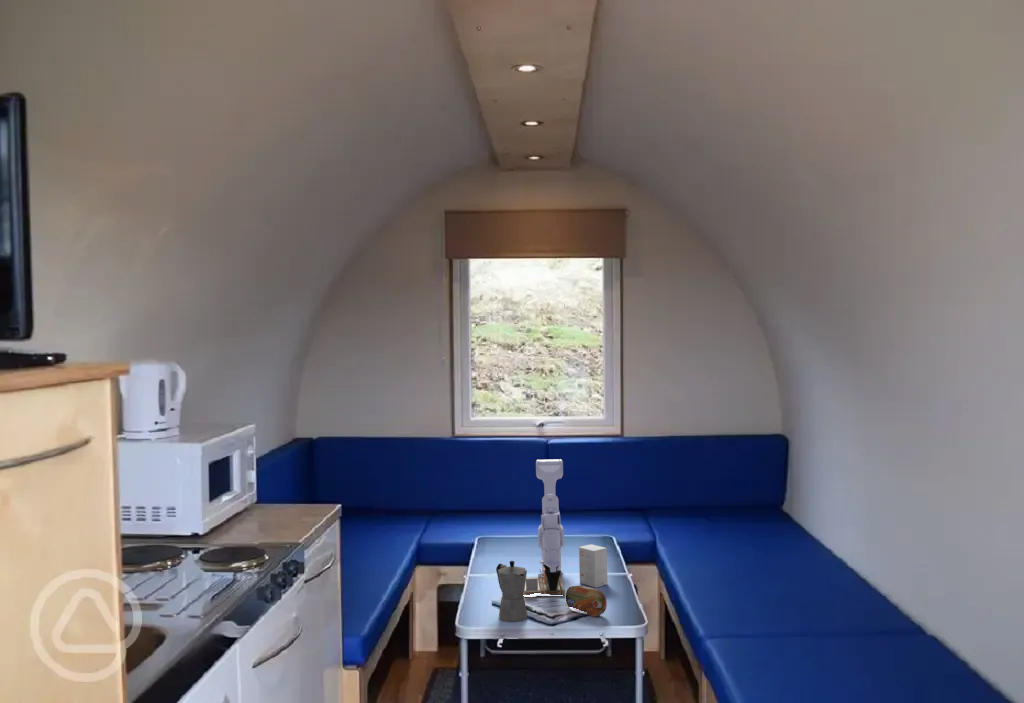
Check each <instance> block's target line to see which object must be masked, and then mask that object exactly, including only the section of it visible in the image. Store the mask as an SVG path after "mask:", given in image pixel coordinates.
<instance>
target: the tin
mask: <svg viewBox="0 0 1024 703" xmlns="http://www.w3.org/2000/svg"><path fill="white" fill-rule="evenodd" d="M564 597H565V602H566V605H567V607H568V608H569V607H573V608H576V609H579V610H581V611H584V612H587V614H588V615H589V616H588V615H587V616H588V617H593V618H596V617H598V616H600V615H603V614H604V613H605V612H606V610H607V605H608V604H607V602H608V601H607V597H606V596H605V594H604V593H603V591H601V590H600V589H599V588H595V587H590V586H583V585H573V586H570V587H569V588H567V590H566V591H565V596H564Z"/></svg>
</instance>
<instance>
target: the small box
mask: <svg viewBox="0 0 1024 703" xmlns="http://www.w3.org/2000/svg"><path fill="white" fill-rule="evenodd" d="M578 557H579V558H578V559H579V560H578V561H579V562H578V563H579V566H578V567H579V568H578V569H579V584H582V585H586V586H587V587H591V588H594V589H597V588H600V587H602V586H605V585H608V549H607V548H606V547H604V546H600V545H595V544H592V543H591V544H586V545H582V546H579V547H578Z"/></svg>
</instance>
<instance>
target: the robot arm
mask: <svg viewBox="0 0 1024 703" xmlns="http://www.w3.org/2000/svg"><path fill="white" fill-rule="evenodd" d="M535 475H536V478H537V479H539V480H542V483H543V485H544V486H543V489H544V490H543V491H544V496H543V497H542V498H541V506H542V507H541V509H542V510H541V511H542V512H541V513H542V514H541V516H540V518H541V519H540V520H541V521H540V523H541V524H540V525H538V527H537V546H538V547H539V548H541V549H540V550H541V560H539V564H540V565H541V566H540V567H539V569H540V574H541V576H542V575H543V576H544V572H545V574H546V576H547V579H548V584H549V589H550V591H556V589H557V584H558V579H559V576H560V574H561V575H563V574H564V570H563V568H562V548H564V547H565V532H564V526H563V525H562V524H561V514H560V509H559V505H560V504H559V498H558V496H557V495H556V493H557V492H556V484H557V480H558V481H559V479H560V480H561V479H562V478H563V476H564V461H563V460H562V459H561V458H560V459H536V461H535ZM544 568H545V570H544Z"/></svg>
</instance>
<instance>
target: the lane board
mask: <svg viewBox="0 0 1024 703" xmlns="http://www.w3.org/2000/svg"><path fill="white" fill-rule="evenodd" d="M536 577H537V578H538V582H539V587H540V592H526V593H524V592H523V595H530V594H534V593H541V594H550V595H563V596H562V597H566V591H565V586H564V583H563V578H562V574H560V576H559V579H558V582H559V586H560V592H545V591H544V586H543V580H542V578H544V576H542V574H541V573H538V574H537V576H536Z"/></svg>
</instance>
